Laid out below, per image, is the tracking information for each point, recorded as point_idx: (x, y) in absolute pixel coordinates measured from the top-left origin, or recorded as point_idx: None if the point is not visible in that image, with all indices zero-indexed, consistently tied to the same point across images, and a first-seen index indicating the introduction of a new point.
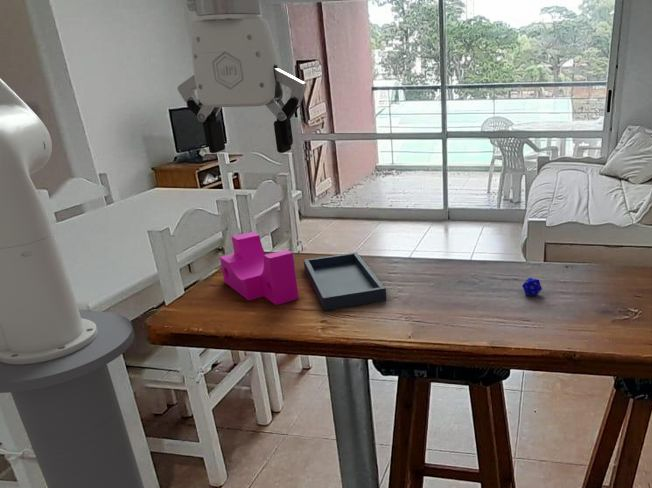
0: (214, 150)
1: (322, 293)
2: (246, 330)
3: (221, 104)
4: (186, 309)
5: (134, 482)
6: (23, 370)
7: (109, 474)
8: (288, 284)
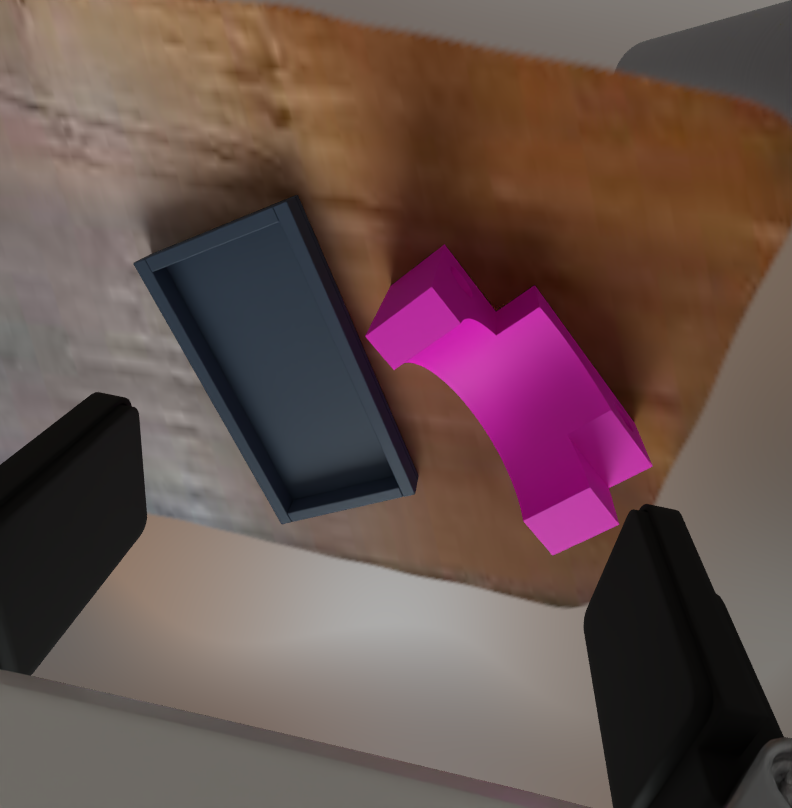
0: (637, 512)
1: (296, 237)
2: (494, 57)
3: (479, 792)
4: (720, 232)
5: (777, 71)
6: None
7: None
8: (402, 285)
